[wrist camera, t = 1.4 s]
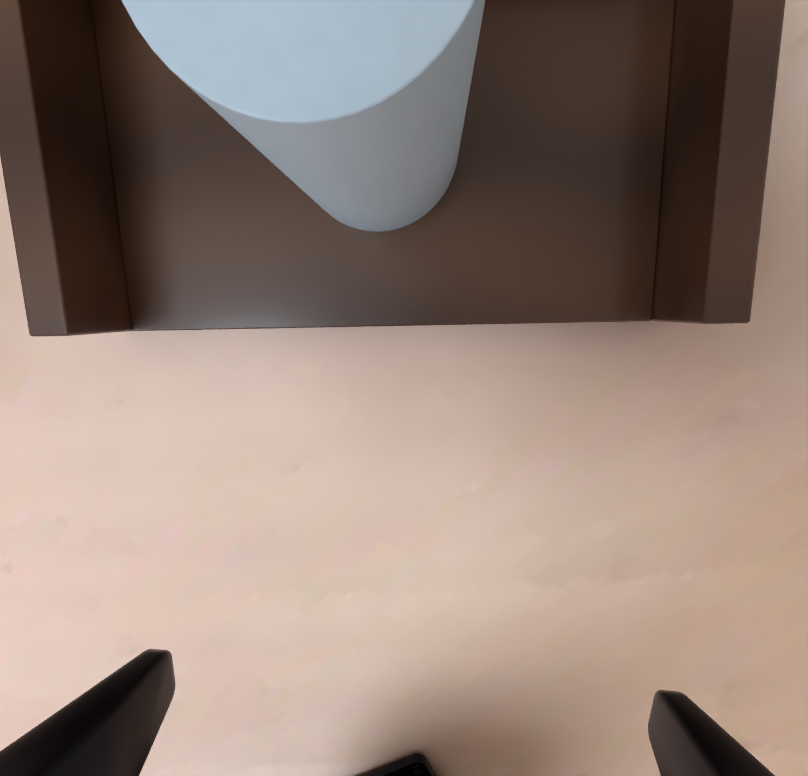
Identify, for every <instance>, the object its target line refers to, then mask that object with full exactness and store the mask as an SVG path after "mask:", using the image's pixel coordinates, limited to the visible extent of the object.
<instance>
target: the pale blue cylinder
mask: <svg viewBox="0 0 808 776" xmlns="http://www.w3.org/2000/svg"><path fill="white" fill-rule="evenodd" d="M122 2H123V4H124V6H125V8H126V9H127V11H128V13H129V15H130V17H131V19H132V20H133V22H134V24H135V26H136V28H137V29H138V30H139V32H140V33H141V35H142V36H143V37H144V39H145V40H146V42H147V43H148V45H149V46H150V47H151V49H152V50H153V51H154V52H155V53H156V55H157V56H158V57H159V58H160V59H161V60H162V61H163V62H164V63H165V64H166V66H167V67H168V68H169V69H170V70H171V71H172V72H173V73H174V74H176V75H177V76H178V77H179V78H180V79H181V80H182V81H183V82H184V83H185V84H186V85H188V86H189V87H190V88H191V89H192V90H193V91H194V92H195V93H196V94H197V95H199V96H200V97H201V98H202V99H203V100H204V101H205V102H206V103H207V104H208V105H210V106H211V107H212V108H213V109H214V110H215V111H216V112H217V113H218V114H219V115H220V116H222V117H223V118H224V119H225V120H226V121H227V122H228V123H229V124H230V125H231V126H233V127H234V128H235V129H236V130H237V131H238V132H239V133H240V134H241V135H242V136H244V137H245V138H246V139H247V140H248V141H249V142H250V143H251V144H252V145H253V146H254V147H256V148H257V149H258V150H259V151H260V152H261V153H262V154H263V155H264V156H265V157H267V158H268V159H269V160H270V161H271V162H272V163H273V164H274V165H275V166H276V167H278V168H279V169H280V170H281V171H282V172H283V173H284V174H285V175H286V176H287V177H288V178H290V179H291V180H292V181H293V182H294V183H295V184H296V185H297V186H298V187H299V188H301V189H302V190H303V191H304V192H305V193H306V194H307V195H308V196H309V197H310V198H312V199H313V200H314V201H315V202H316V203H317V204H318V205H319V206H320V207H321V208H322V209H324V210H325V211H326V212H327V213H328V214H329V215H331V216H332V217H333V218H335V219H336V220H338V221H339V222H341V223H343V224H346V225H348V226H350V227H353V228H356V229H359V230H365V231H376V232H381V231H390V230H394V229H398V228H402V227H404V226H407V225H409V224H411V223H413V222H415V221H417V220H418V219H420V218H421V217H423V216H424V215H425V214H427V213H428V212H429V211H430V210H431V209H432V208H433V207H434V206H435V205H436V204H437V203H438V201H439V200H440V199H441V198H442V196H443V195H444V193H445V191H446V190H447V188H448V186H449V184H450V182H451V180H452V177H453V175H454V171H455V168H456V164H457V159H458V154H459V148H460V142H461V136H462V131H463V125H464V119H465V113H466V108H467V102H468V96H469V91H470V85H471V79H472V73H473V68H474V62H475V56H476V51H477V45H478V39H479V33H480V28H481V22H482V16H483V11H484V5H485V0H122Z"/></svg>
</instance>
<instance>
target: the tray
mask: <svg viewBox="0 0 808 776" xmlns="http://www.w3.org/2000/svg"><path fill="white" fill-rule="evenodd" d="M784 7H785V0H485V5H484V11H483V16H482V22H481V28H480V33H479V39H478V45H477V51H476V56H475V62H474V68H473V73H472V79H471V85H470V91H469V96H468V102H467V108H466V113H465V119H464V125H463V131H462V136H461V142H460V148H459V154H458V159H457V164H456V168H455V171H454V175H453V177H452V180H451V182H450V184H449V186H448V188H447V190H446V191H445V193H444V195H443V196H442V198H441V199H440V200H439V201H438V203H437V204H436V205H435V206H434V207H433V208H432V209H431V210H430V211H429V212H428V213H427V214H425V215H424V216H423V217H421V218H420V219H418V220H417V221H415V222H413V223H411V224H409V225H407V226H404V227H402V228H398V229H394V230H390V231H381V232H376V231H365V230H359V229H356V228H353V227H350V226H348V225H346V224H343V223H341V222H339V221H338V220H336V219H335V218H333V217H332V216H331V215H329V214H328V213H327V212H326V211H325V210H324V209H322V208H321V207H320V206H319V205H318V204H317V203H316V202H315V201H314V200H313V199H312V198H310V197H309V196H308V195H307V194H306V193H305V192H304V191H303V190H302V189H301V188H299V187H298V186H297V185H296V184H295V183H294V182H293V181H292V180H291V179H290V178H288V177H287V176H286V175H285V174H284V173H283V172H282V171H281V170H280V169H279V168H278V167H276V166H275V165H274V164H273V163H272V162H271V161H270V160H269V159H268V158H267V157H265V156H264V155H263V154H262V153H261V152H260V151H259V150H258V149H257V148H256V147H254V146H253V145H252V144H251V143H250V142H249V141H248V140H247V139H246V138H245V137H244V136H242V135H241V134H240V133H239V132H238V131H237V130H236V129H235V128H234V127H233V126H231V125H230V124H229V123H228V122H227V121H226V120H225V119H224V118H223V117H222V116H220V115H219V114H218V113H217V112H216V111H215V110H214V109H213V108H212V107H211V106H210V105H208V104H207V103H206V102H205V101H204V100H203V99H202V98H201V97H200V96H199V95H197V94H196V93H195V92H194V91H193V90H192V89H191V88H190V87H189V86H188V85H186V84H185V83H184V82H183V81H182V80H181V79H180V78H179V77H178V76H177V75H176V74H174V73H173V72H172V71H171V70H170V69H169V68H168V67H167V66H166V64H165V63H164V62H163V61H162V60H161V59H160V58H159V57H158V56H157V55H156V53H155V52H154V51H153V50H152V49H151V47H150V46H149V45H148V43H147V42H146V40H145V39H144V37H143V36H142V35H141V33H140V32H139V30H138V29H137V28H136V26H135V24H134V22H133V20H132V19H131V17H130V15H129V13H128V11H127V9H126V8H125V6H124V4H123V2H122V0H0V157H1V163H2V169H3V175H4V181H5V187H6V193H7V199H8V205H9V211H10V217H11V224H12V230H13V236H14V242H15V248H16V254H17V260H18V266H19V272H20V278H21V284H22V291H23V297H24V303H25V309H26V315H27V321H28V327H29V333H30V335H31V336H71V335H84V334H97V333H110V332H123V331H153V330H205V329H257V328H310V327H362V326H414V325H466V324H519V323H571V322H623V321H664V322H681V323H698V324H726V323H748V322H749V321H750V315H751V306H752V297H753V288H754V279H755V270H756V261H757V252H758V243H759V234H760V224H761V215H762V206H763V197H764V188H765V179H766V170H767V161H768V152H769V143H770V134H771V125H772V116H773V107H774V98H775V89H776V80H777V71H778V62H779V53H780V44H781V35H782V26H783V17H784Z"/></svg>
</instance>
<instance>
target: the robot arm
mask: <svg viewBox="0 0 808 776" xmlns="http://www.w3.org/2000/svg"><path fill="white" fill-rule="evenodd" d="M174 691H175V676H174V668H173V660H172V655H171V653H170V652H169V651H167V650H159V649H149V650H146V651H144V652H143V653H141V654H140V655H138V656H137V657H135V658H134V659H133V660H131V661H130V662H128V663H127V664H125V665H124V666H122V667H121V668H120V669H118V670H117V671H115V672H114V673H112V674H111V675H110V676H108V677H107V678H105V679H104V680H102V681H101V682H99V683H98V684H97V685H95V686H94V687H92V688H91V689H89V690H88V691H87V692H85V693H84V694H82V695H81V696H79V697H78V698H76V699H75V700H74V701H72V702H71V703H69V704H68V705H66V706H65V707H64V708H62V709H61V710H59V711H58V712H56V713H55V714H53V715H52V716H51V717H49V718H48V719H46V720H45V721H43V722H42V723H40V724H39V725H38V726H36V727H35V728H33V729H32V730H30V731H29V732H28V733H26V734H25V735H23V736H22V737H20V738H19V739H17V740H16V741H15V742H13V743H12V744H10V745H9V746H7V747H6V748H5V749H3V750H2V751H0V776H139V775H140V772H141V770H142V768H143V765H144V763H145V761H146V759H147V756H148V754H149V752H150V749H151V747H152V745H153V742H154V740H155V738H156V735H157V733H158V731H159V729H160V726H161V724H162V722H163V719H164V717H165V715H166V712H167V710H168V708H169V705H170V703H171V701H172V698H173V695H174ZM648 733H649V739H650V742H651V745H652V749H653V752H654V755H655V758H656V762H657V765H658V768H659V771H660V774H661V776H775V775H774V774H773V773H771V772H770V771H769V770H768V769H767V768H766V767H765V766H764V765H763V764H761V763H760V762H759V761H758V760H757V759H756V758H755V757H754V756H753V755H751V754H750V753H749V752H748V751H747V750H746V749H745V748H744V747H743V746H741V745H740V744H739V743H738V742H737V741H736V740H735V739H734V738H733V737H731V736H730V735H729V734H728V733H727V732H726V731H725V730H724V729H723V728H721V727H720V726H719V725H718V724H717V723H716V722H715V721H714V720H713V719H711V718H710V717H709V716H708V715H707V714H706V713H705V712H704V711H703V710H701V709H700V708H699V707H698V706H697V705H696V704H695V703H694V702H693V701H691V700H690V699H689V698H688V697H687V696H686V695H684V694H683V693H681V692H678V691H667V690H658V691H657V692H656V693H655V696H654V700H653V704H652V709H651V713H650V718H649V723H648ZM417 765H419V766H417ZM363 776H437V775H436V773H435V771H434V770H433V768H432V767H431V765H430V764H429V762H428V760H427V759H426V758H425V757H424V756H423V755H421V754H414V755H412V756H409V757H407V758H404V759H402V760H399V761H397V762H395V763H392V764H390V765H387V766H385V767H383V768H380V769H378V770H375V771H373V772H370V773H368V774H366V775H363Z"/></svg>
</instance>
